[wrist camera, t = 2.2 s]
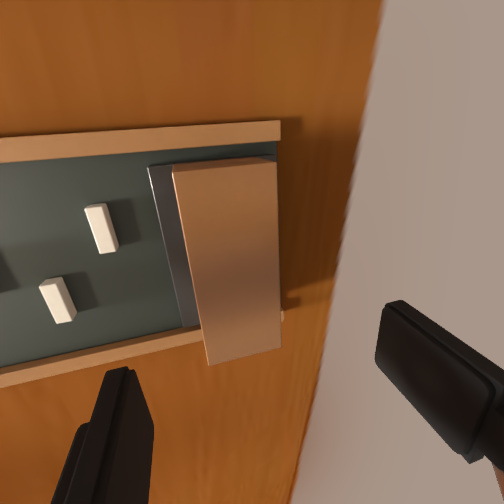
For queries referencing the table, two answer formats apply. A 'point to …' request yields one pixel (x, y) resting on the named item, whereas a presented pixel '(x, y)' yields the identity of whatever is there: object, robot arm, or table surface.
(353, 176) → the table surface
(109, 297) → the slate board
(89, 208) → the chalk stub
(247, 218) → the eraser
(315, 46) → the table surface
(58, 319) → the chalk stub
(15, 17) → the table surface
